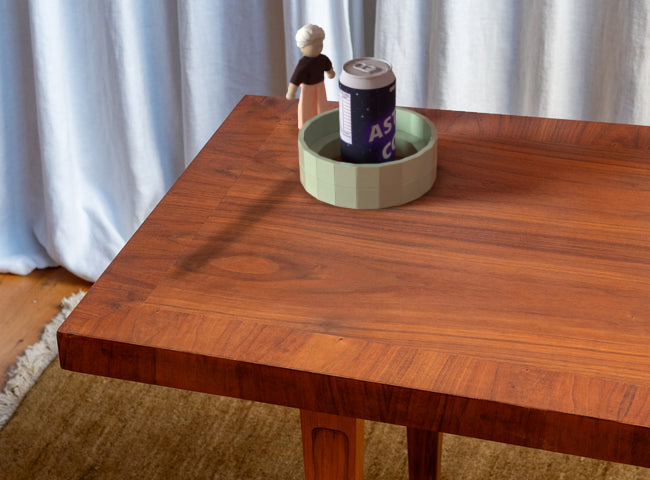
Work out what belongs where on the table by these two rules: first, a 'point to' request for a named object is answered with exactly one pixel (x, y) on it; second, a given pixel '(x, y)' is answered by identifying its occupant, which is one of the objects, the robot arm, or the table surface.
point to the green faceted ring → (368, 179)
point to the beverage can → (367, 111)
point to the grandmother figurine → (310, 74)
